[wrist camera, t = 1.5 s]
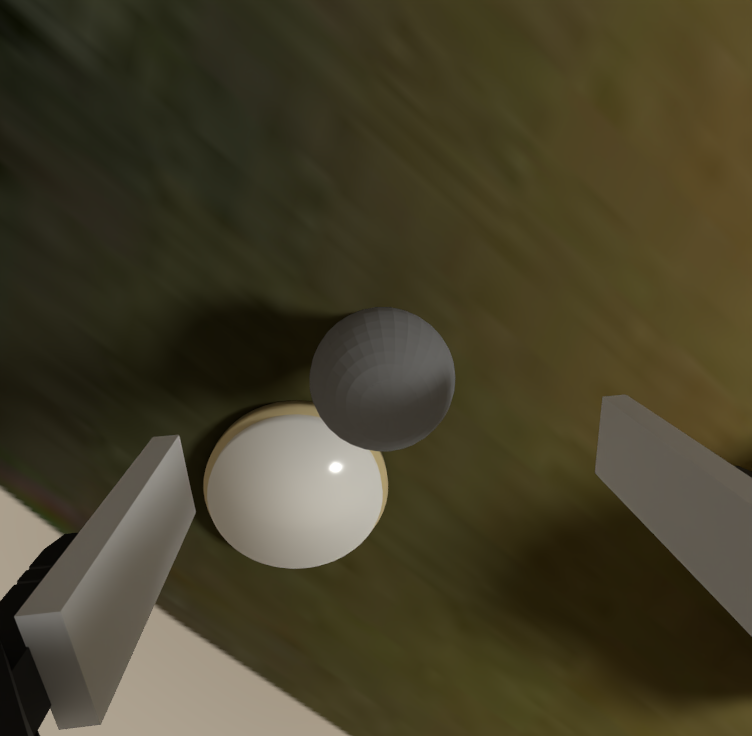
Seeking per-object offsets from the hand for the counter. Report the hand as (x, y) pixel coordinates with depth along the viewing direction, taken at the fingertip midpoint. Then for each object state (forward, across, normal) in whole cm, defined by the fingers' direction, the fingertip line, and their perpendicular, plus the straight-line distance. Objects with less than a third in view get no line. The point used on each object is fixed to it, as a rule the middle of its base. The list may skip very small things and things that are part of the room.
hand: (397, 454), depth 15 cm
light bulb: (+13, 0, +1) cm, 13 cm away
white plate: (+13, -5, -8) cm, 16 cm away
